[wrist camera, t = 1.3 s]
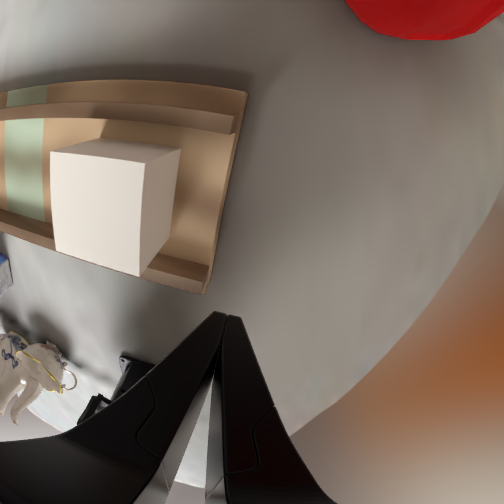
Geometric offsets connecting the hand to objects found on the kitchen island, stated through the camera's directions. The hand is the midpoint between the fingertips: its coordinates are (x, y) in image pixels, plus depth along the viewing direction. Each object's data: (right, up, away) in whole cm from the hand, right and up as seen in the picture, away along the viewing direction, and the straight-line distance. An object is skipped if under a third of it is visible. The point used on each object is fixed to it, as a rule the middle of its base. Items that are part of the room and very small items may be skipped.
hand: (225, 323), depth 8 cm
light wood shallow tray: (-16, +10, +10) cm, 22 cm away
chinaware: (-38, -12, +24) cm, 46 cm away
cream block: (-7, +6, +8) cm, 13 cm away
